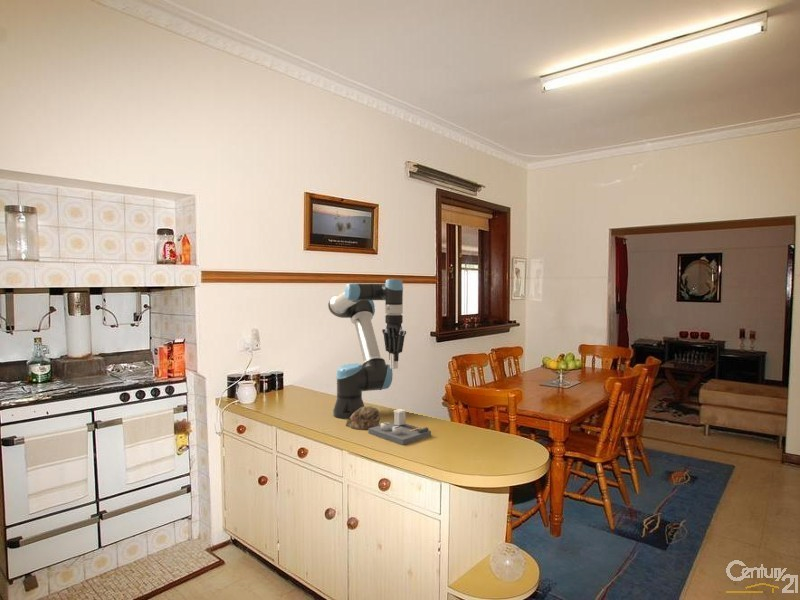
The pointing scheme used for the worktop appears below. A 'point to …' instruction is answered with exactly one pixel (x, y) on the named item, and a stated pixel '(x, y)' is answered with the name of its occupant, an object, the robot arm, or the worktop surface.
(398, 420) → the fader tab
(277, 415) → the worktop surface
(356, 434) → the worktop surface
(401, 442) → the console
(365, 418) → the rock
